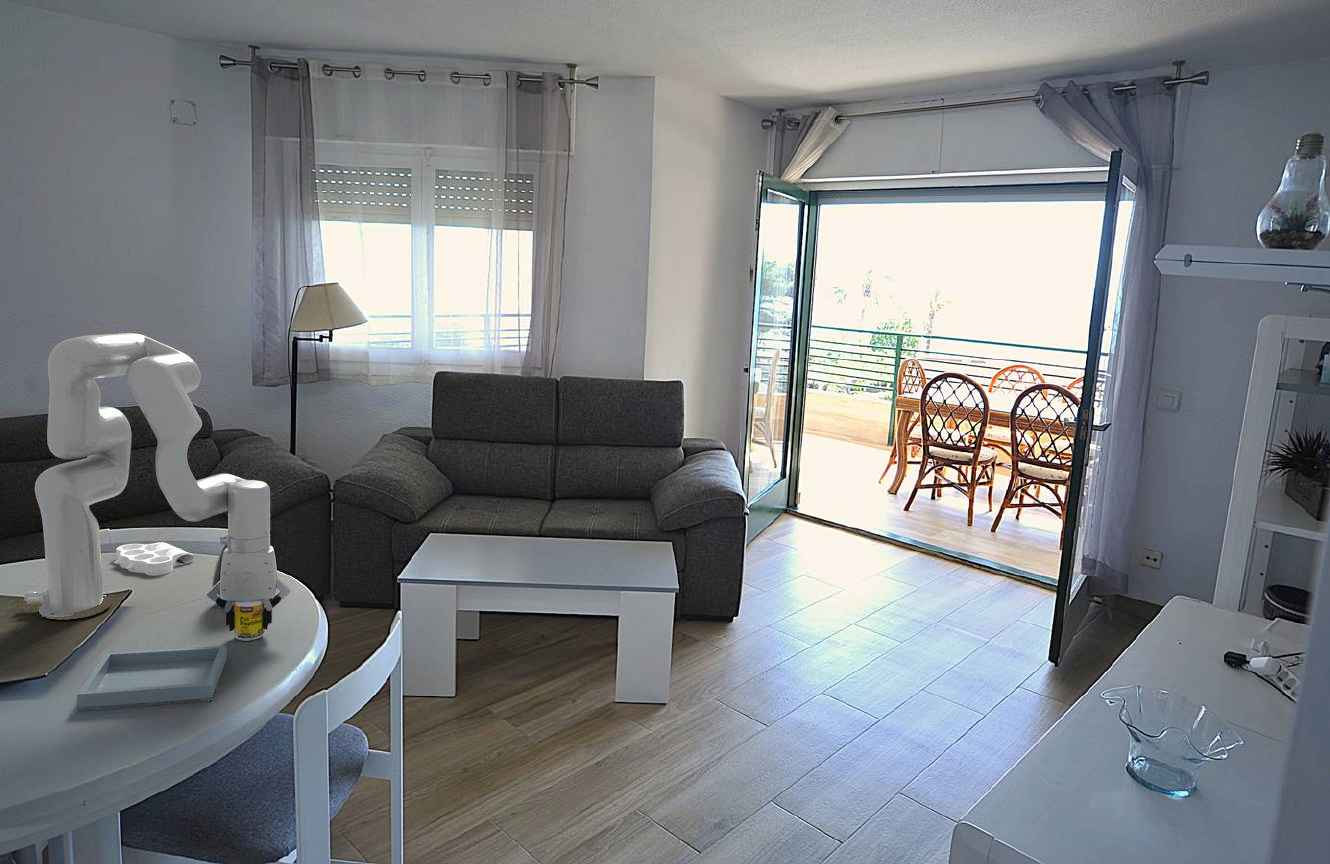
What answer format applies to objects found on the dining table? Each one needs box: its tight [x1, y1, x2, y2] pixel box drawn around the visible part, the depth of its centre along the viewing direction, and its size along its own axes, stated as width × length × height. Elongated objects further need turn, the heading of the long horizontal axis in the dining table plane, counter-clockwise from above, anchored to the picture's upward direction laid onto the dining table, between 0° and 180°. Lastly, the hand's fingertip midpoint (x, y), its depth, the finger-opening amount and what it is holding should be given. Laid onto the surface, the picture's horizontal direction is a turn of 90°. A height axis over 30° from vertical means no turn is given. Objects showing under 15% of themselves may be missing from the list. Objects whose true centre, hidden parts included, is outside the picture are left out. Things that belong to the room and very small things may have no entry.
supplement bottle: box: [233, 600, 265, 642], centre depth 174 cm, size 6×6×10 cm
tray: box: [76, 645, 228, 712], centre depth 154 cm, size 20×16×3 cm
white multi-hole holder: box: [112, 541, 195, 577], centre depth 210 cm, size 3×18×15 cm
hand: (249, 626), depth 175 cm, fingers closed on supplement bottle, 5 cm apart
